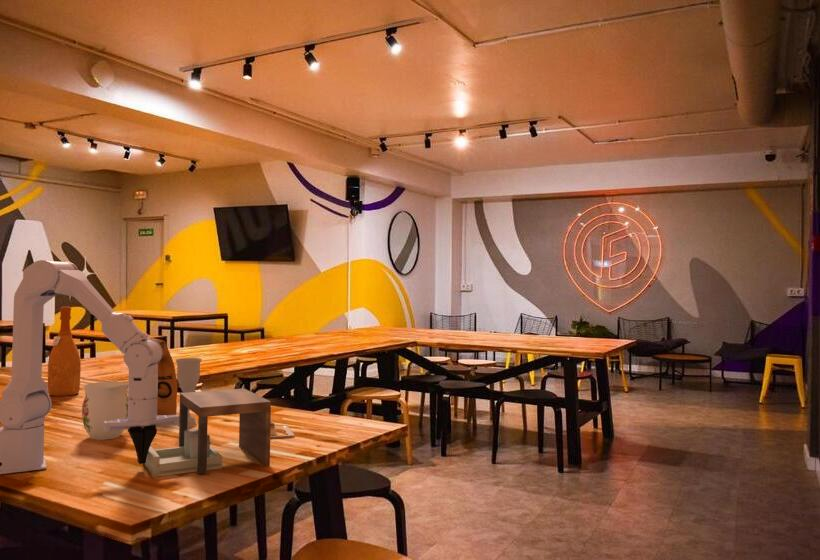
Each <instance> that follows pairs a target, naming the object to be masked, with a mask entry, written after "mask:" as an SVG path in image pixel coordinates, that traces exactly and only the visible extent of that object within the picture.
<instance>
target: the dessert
mask: <svg viewBox="0 0 820 560" xmlns="http://www.w3.org/2000/svg"><path fill="white" fill-rule="evenodd" d="M281 428H283V431H284V430H285V431H286V432H285V431H284V432H285V434H286V435H277V433H278V432H277V430H282V429H281ZM275 434H276V435H275ZM287 434H288V435H287ZM271 435H272V436H271ZM295 436H296V435H295V434H294V432H293V431H292V430H291V428H290V427H289V426H288V425H287V424H286V425H275V422H273V421H272V419H271V427H270V439H283V438H284V437H285V438H292V437H295Z"/></svg>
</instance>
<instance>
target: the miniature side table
mask: <svg viewBox="0 0 820 560" xmlns="http://www.w3.org/2000/svg"><path fill="white" fill-rule="evenodd" d="M188 408H189V409H190V411H191V412H193V413H194V414H196V415H197V416H198V417H197V419H198V421H197V422H198V423H197V427H198V428H197V429H198V464H197V471H196V472H197V476H199V477H200V476H201V477H202V476H207V473H208V472H207V471H208V470H207V435H208V426H209V425H208V424H209V423H208V418H209V417H218V416H229V415H239V420H238V421H239V425H238V427H239V428H238V430H239V432H238V447H239V448H240V449H241V450H242V451H244V452H246V453H247V454H248V455H250V457H252V458H253V459H255V460H256V461H257V462H258V463H260V464H261V465H262V466H263V467H265V468H266V467H270V466H271V465H270V464H271V438H270V437H271V436H270V427H271V420H272V419H271V418H272V417H271V416H272V401H271V400H269V399H266V398H265V397H263V396H260V395H258V394H256V393H255V392H253V391H250V390H248V389H246V388H245V387H243V388H232V389H229V388H228V389H216V390H204V391H203V390H202V391H194V392H187V393H183V392H180V393H179V413H178V416H179V426H178V447H183V446H184V432H185V431H186V430H188V427H187V424H188Z"/></svg>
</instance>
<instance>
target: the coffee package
mask: <svg viewBox="0 0 820 560" xmlns="http://www.w3.org/2000/svg"><path fill="white" fill-rule="evenodd" d="M151 339H155V340H157V341H158V342H159V344H160V346H161V347H162V351H163V354H162V358H161V360H160V361H159V362H158V363H157V364H158V397H157V415H177V411H178V410H177V409H178V405H177V401H178V400H177V397H178V379H177V372H176V368H175V367H176V366H175V363H174V360H173V358H172V357H173V356H172V355H171V353H170V350H169V348H168V345H167V343H166V341H165V340H162V339H158V338H154V337H152V338H151Z"/></svg>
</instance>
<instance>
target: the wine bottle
mask: <svg viewBox="0 0 820 560" xmlns="http://www.w3.org/2000/svg"><path fill="white" fill-rule="evenodd" d="M71 311H72V308H71V306H68V305H64V306H60V308H59V312H60V314H59V315H60V316H59V320H60V328H59V332H58V335H56V336H54V339H53V341H52V346H53V347H52V349H51V350H50V354H49V356H48V362H47V385H48V394H49V396H53V397H67V396H68V397H69V396H75V395H77V394H78V393H79V392H80V390H81V388H80V387H81V371H82V370H81V369H82V368H81V367H82V365H81V361H82V360H81V356H80V352H79V350H78V347H77V345H76V343H75V340H74V339H73V336H72V331H71V324H70V323H71V319H72V316H71V314H72V312H71Z"/></svg>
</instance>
